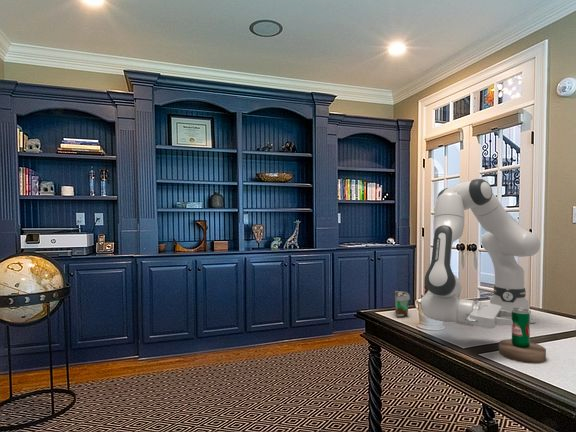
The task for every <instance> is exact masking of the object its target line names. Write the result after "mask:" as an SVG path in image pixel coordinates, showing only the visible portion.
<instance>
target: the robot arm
mask: <svg viewBox="0 0 576 432" xmlns="http://www.w3.org/2000/svg"><path fill="white" fill-rule="evenodd" d="M469 209H470V210H471V212H472V214H473V216H474V217H475V219H476V220H477V222H478V223H479V224H480V226H481V228H482V229H484V230H485V231H486V232H485V233H484V234H483V235H482V237H481V242H480V243H481V246H482V247H483V249H484V250H485V251H486V253H487V254H488V255H489V257H490V259H491V261H492V266H493V268H494V269H493V270H494V286H493V294H494V295H492V296H491V297H490V299H489V302H485V301H479V300H478V299H474V298H473V299H465V298H464V299H463V298H460V296H461V291H462V282H461V281H460V279H459V278H458V277H457V276H456V275H455V274H454V272H453V271H452V267H451V263H452V262H451V259H452V249H453V248H452V247H453V244H454V242H456V241H458V240H459V239H461V237H462V236H463V233H464V229H465V211H466V210H469ZM540 248H541V240H540V237H538V235H537V234H536V233H533V232H531V231H529V230H527V229H526V228H524V227H523V226H521V224H519V223H518V222H516V220H514V219H513V218H512V216H510V215H509V214H508V212H507V211H506V210H505V208H504V207H503V204H501V202H500V200H499V199H498V198H497V196H496V195H495V193H494V192H493V188H492V186H491V184H490V182H489V181H487V180H485V179H482V178H475V179H472V180H467V181H464V182H460V183H458V184H454V185H452V186H450V187H446V188H444V189H442V190H440V191H439V193H438V194H437V197H436V203H435V207H434V213H433V242H432V252H431V260H430V264H429V268H428V269H427V271H426V273H425V276H424V286H425V285H426V287H427V289H428V292H427V293H426V294H425V295H423V296H421V299H420V310H421V312H422V314H423V315H424V317H426V318H427V319H430V320H434V321H439V322H443V323H444V322H445V323H450V322H451V323H455V324H457V325H462V326H463V325H464V326H470V327H474V326H475V327H480V328H485V329H490V330H491V329H495V328H496V326H512V325H513V319H512V310H513V308H516V307H518V308H525V309H528V312H529V313H530V324H535V323H536V320H535V317H534V316H533V314H532V313H531V310H530V302H529V301H528V300H527V299H526V297H527V295H526V294H527V291H526V288H525V270H524V269H523V267H522V266H521V265H520V264H518V262H517V260H516V258H515V257H519V258H520V257H522V258H525V257H532V256H535V255H536V254H538V253H539V250H540Z"/></svg>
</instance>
